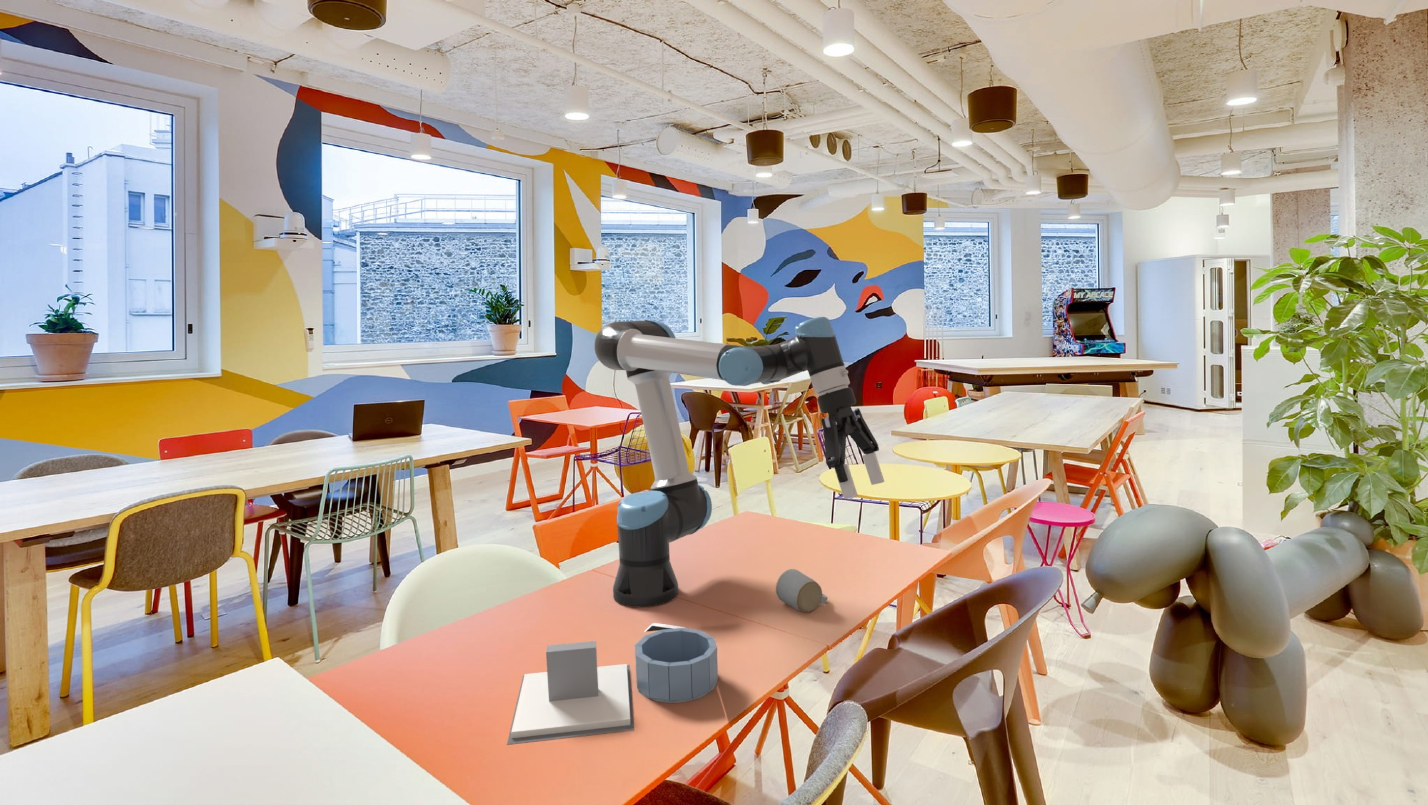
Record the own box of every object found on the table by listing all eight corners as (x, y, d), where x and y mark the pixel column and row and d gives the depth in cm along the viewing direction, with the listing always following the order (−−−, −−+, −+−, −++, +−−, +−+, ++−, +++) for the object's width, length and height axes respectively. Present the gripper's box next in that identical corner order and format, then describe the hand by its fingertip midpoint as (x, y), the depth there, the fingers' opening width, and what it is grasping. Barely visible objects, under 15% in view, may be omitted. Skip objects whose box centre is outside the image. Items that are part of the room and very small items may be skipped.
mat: (523, 678, 125) (523, 675, 125) (629, 668, 128) (629, 665, 128) (507, 748, 105) (506, 744, 105) (634, 733, 107) (634, 730, 107)
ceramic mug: (798, 618, 148) (798, 583, 147) (775, 605, 155) (775, 571, 154) (836, 607, 153) (836, 573, 153) (812, 595, 160) (812, 562, 159)
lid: (525, 679, 124) (521, 628, 123) (626, 669, 126) (624, 619, 125) (511, 738, 106) (507, 679, 105) (630, 725, 109) (627, 667, 108)
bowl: (635, 668, 128) (633, 632, 127) (710, 661, 130) (709, 625, 129) (638, 710, 114) (637, 669, 113) (723, 700, 116) (721, 661, 115)
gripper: (821, 391, 132) (855, 500, 130) (873, 380, 152) (903, 474, 150) (788, 402, 136) (821, 507, 134) (843, 390, 156) (872, 481, 154)
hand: (865, 490), depth 142 cm, fingers open, 13 cm apart
